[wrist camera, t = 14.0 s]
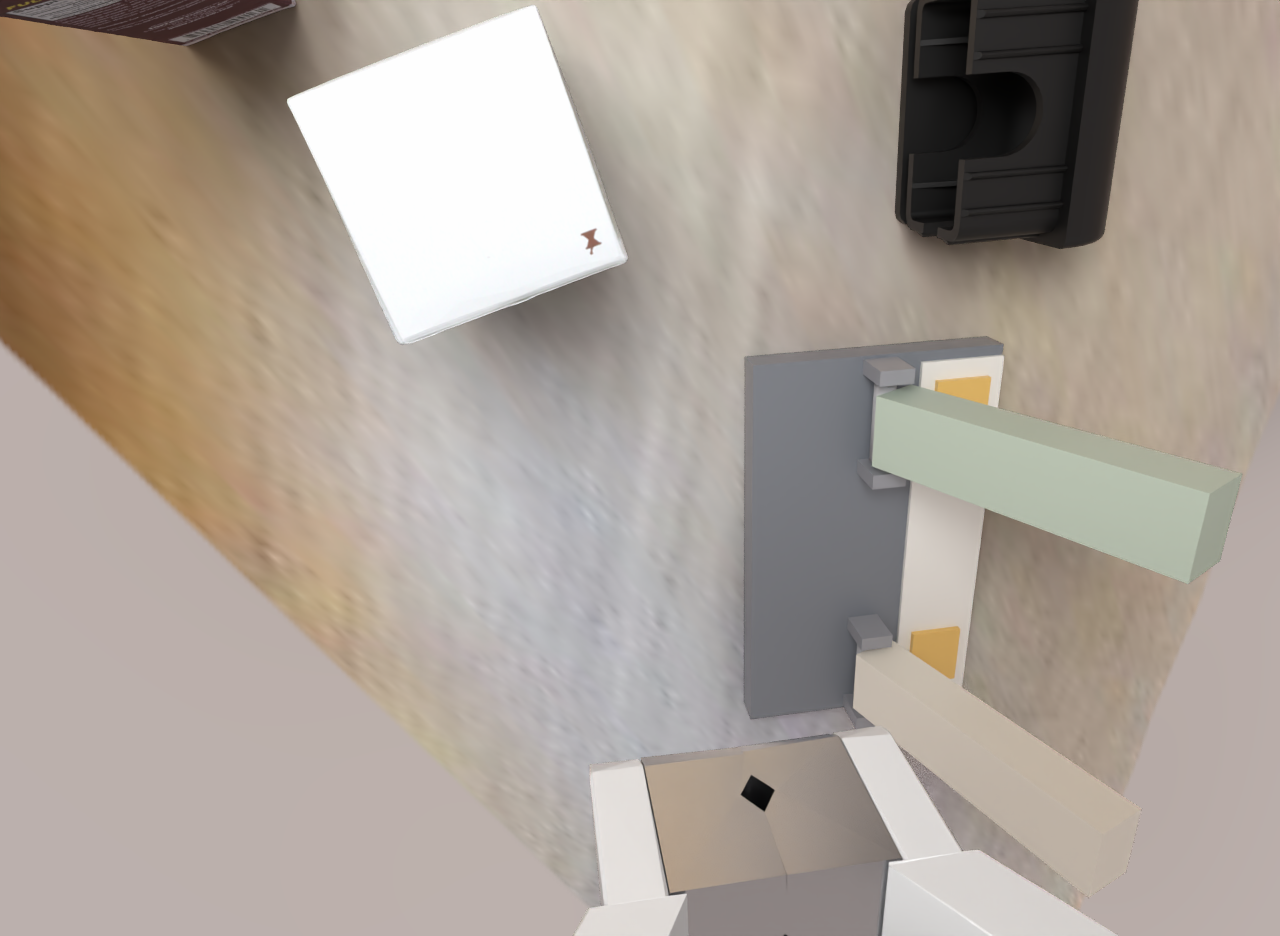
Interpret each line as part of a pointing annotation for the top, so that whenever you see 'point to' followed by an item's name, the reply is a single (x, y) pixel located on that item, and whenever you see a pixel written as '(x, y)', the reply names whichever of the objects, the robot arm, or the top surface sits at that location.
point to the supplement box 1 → (145, 16)
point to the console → (850, 524)
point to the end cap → (1011, 118)
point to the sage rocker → (1058, 478)
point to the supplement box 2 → (462, 175)
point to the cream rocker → (999, 768)
